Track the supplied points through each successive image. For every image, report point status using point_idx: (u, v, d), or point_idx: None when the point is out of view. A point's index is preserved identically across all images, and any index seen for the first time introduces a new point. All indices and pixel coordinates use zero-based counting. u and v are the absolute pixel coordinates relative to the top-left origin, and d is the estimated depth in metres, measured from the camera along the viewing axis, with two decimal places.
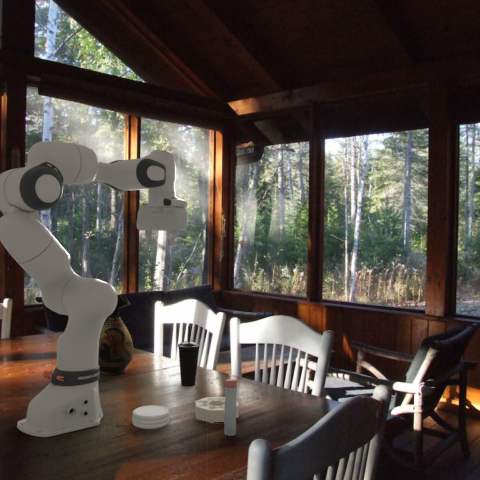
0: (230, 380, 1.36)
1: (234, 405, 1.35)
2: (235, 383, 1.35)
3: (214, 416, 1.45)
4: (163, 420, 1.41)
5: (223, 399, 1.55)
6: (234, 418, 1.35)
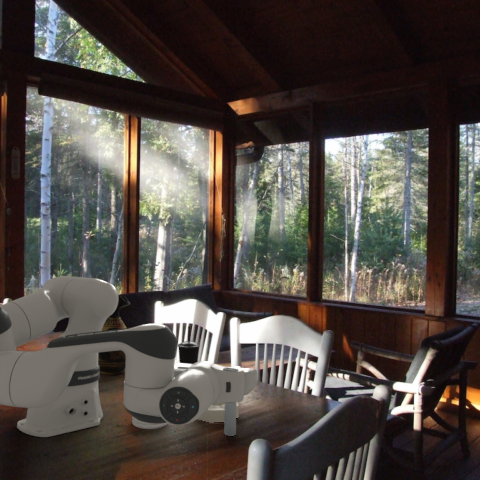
0: None
1: (234, 405, 1.35)
2: None
3: (214, 416, 1.45)
4: None
5: None
6: (234, 418, 1.35)
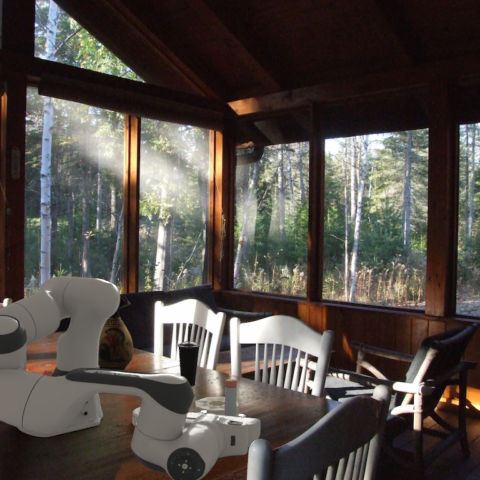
0: (230, 380, 1.36)
1: (234, 405, 1.35)
2: (235, 383, 1.35)
3: None
4: None
5: (223, 399, 1.55)
6: None
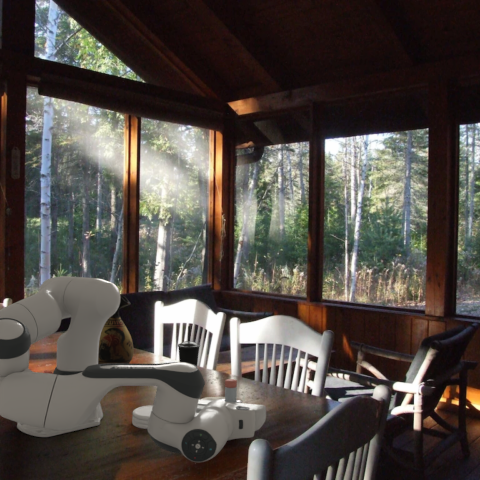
0: (230, 380, 1.36)
1: None
2: (235, 383, 1.35)
3: None
4: None
5: None
6: None
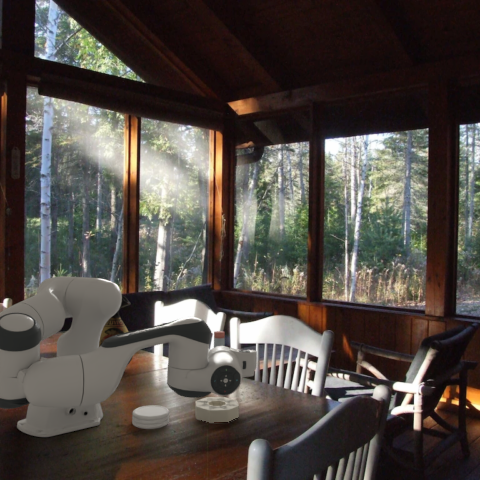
0: (218, 332, 1.50)
1: None
2: (224, 334, 1.49)
3: (214, 416, 1.45)
4: (163, 420, 1.41)
5: (223, 399, 1.55)
6: None
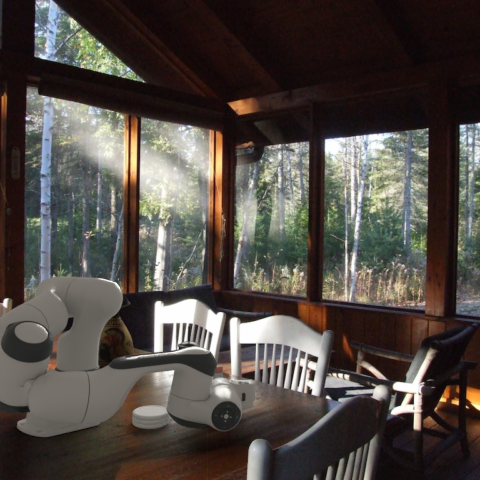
0: None
1: None
2: (222, 368, 1.50)
3: None
4: (163, 420, 1.41)
5: None
6: None
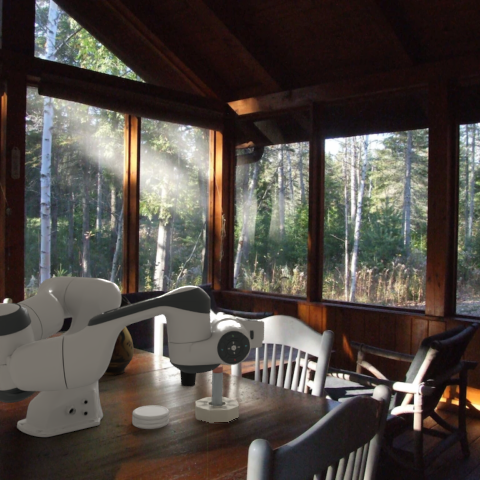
0: None
1: (221, 388, 1.50)
2: (222, 368, 1.50)
3: (214, 416, 1.45)
4: (163, 420, 1.41)
5: (223, 399, 1.55)
6: (221, 400, 1.50)
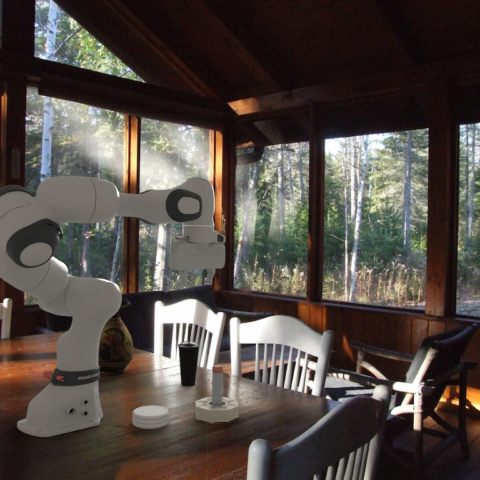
0: (217, 366, 1.51)
1: (221, 388, 1.50)
2: (222, 368, 1.50)
3: (214, 416, 1.45)
4: (163, 420, 1.41)
5: (223, 399, 1.55)
6: (221, 400, 1.50)
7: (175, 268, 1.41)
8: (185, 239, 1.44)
